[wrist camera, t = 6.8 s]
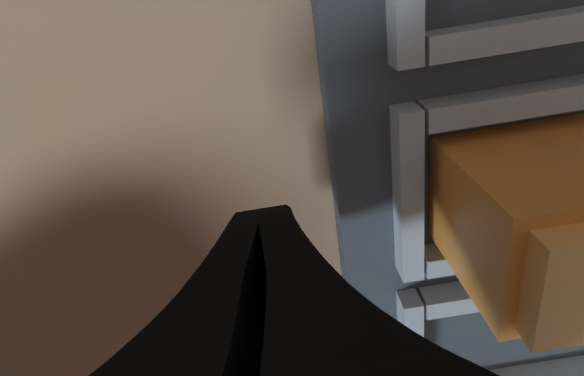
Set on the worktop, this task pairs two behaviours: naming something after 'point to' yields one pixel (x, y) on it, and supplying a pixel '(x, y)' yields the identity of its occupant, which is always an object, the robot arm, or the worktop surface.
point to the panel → (416, 142)
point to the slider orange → (515, 225)
